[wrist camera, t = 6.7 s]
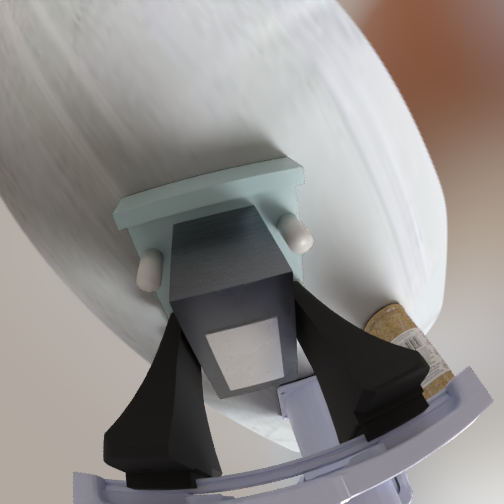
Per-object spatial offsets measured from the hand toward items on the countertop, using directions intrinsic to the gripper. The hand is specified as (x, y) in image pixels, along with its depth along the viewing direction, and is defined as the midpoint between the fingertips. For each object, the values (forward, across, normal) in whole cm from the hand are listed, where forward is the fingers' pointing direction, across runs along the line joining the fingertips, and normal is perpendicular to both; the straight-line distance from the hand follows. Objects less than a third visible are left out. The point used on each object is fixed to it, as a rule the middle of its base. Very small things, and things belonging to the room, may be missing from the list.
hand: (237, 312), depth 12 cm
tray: (+4, 0, 0) cm, 4 cm away
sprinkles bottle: (+4, -12, +10) cm, 17 cm away
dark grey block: (+3, 0, 0) cm, 3 cm away
